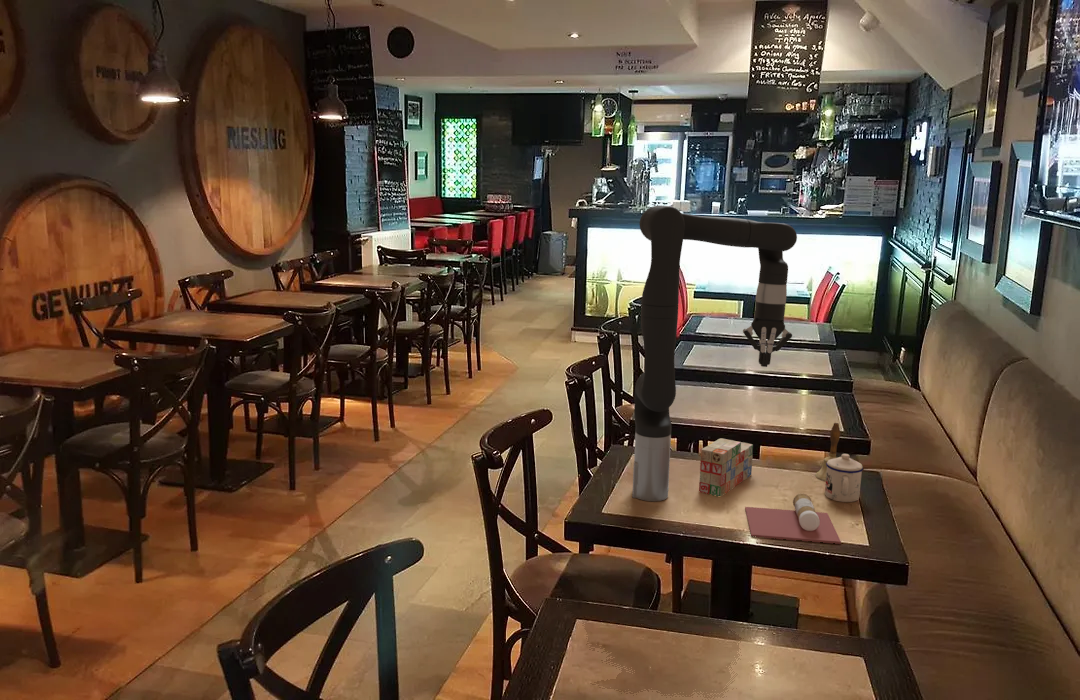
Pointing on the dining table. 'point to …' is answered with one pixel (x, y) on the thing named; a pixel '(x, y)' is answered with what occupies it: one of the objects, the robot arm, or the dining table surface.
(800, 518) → the sprinkles bottle
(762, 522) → the mat
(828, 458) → the hand bell
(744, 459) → the stack of blocks
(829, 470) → the teacup with lid
